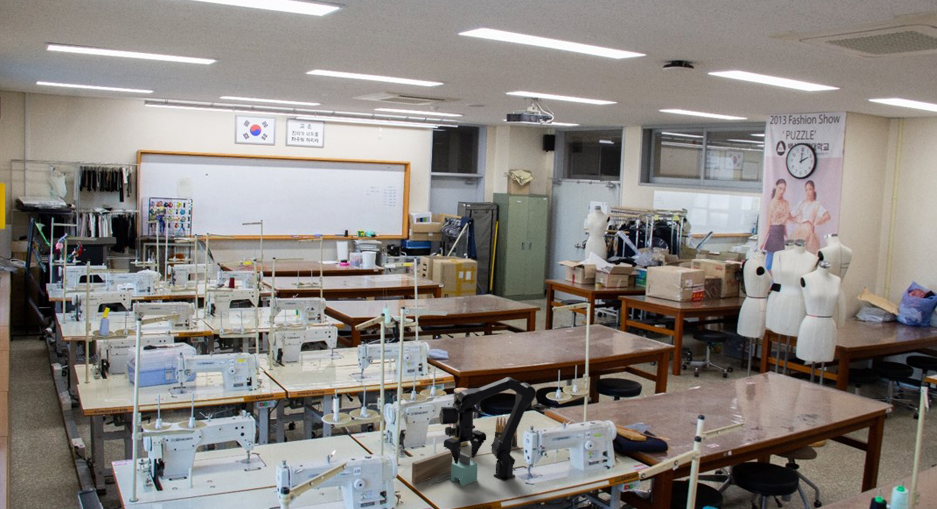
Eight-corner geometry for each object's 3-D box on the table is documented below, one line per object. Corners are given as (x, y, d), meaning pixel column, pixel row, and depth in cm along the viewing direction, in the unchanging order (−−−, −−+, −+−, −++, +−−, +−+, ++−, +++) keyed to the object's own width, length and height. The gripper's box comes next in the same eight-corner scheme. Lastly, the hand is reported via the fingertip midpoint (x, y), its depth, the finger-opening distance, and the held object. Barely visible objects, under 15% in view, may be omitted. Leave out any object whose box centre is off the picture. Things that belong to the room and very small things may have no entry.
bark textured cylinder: (466, 447, 352) (467, 392, 349) (451, 446, 353) (452, 391, 350) (469, 442, 358) (470, 388, 356) (454, 440, 360) (456, 387, 357)
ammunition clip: (494, 442, 360) (495, 416, 358) (496, 441, 361) (496, 415, 360) (515, 447, 354) (516, 421, 353) (517, 445, 356) (518, 419, 355)
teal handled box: (476, 480, 316) (477, 454, 315) (462, 485, 311) (463, 459, 309) (465, 475, 321) (466, 450, 320) (450, 480, 315) (451, 454, 314)
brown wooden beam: (459, 474, 322) (460, 455, 321) (422, 487, 308) (423, 467, 307) (448, 469, 326) (449, 450, 325) (411, 482, 312) (412, 462, 311)
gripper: (468, 413, 325) (467, 449, 327) (434, 422, 312) (433, 460, 314) (487, 419, 317) (486, 457, 319) (454, 429, 304) (452, 468, 306)
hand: (464, 460), depth 315 cm, fingers open, 9 cm apart
